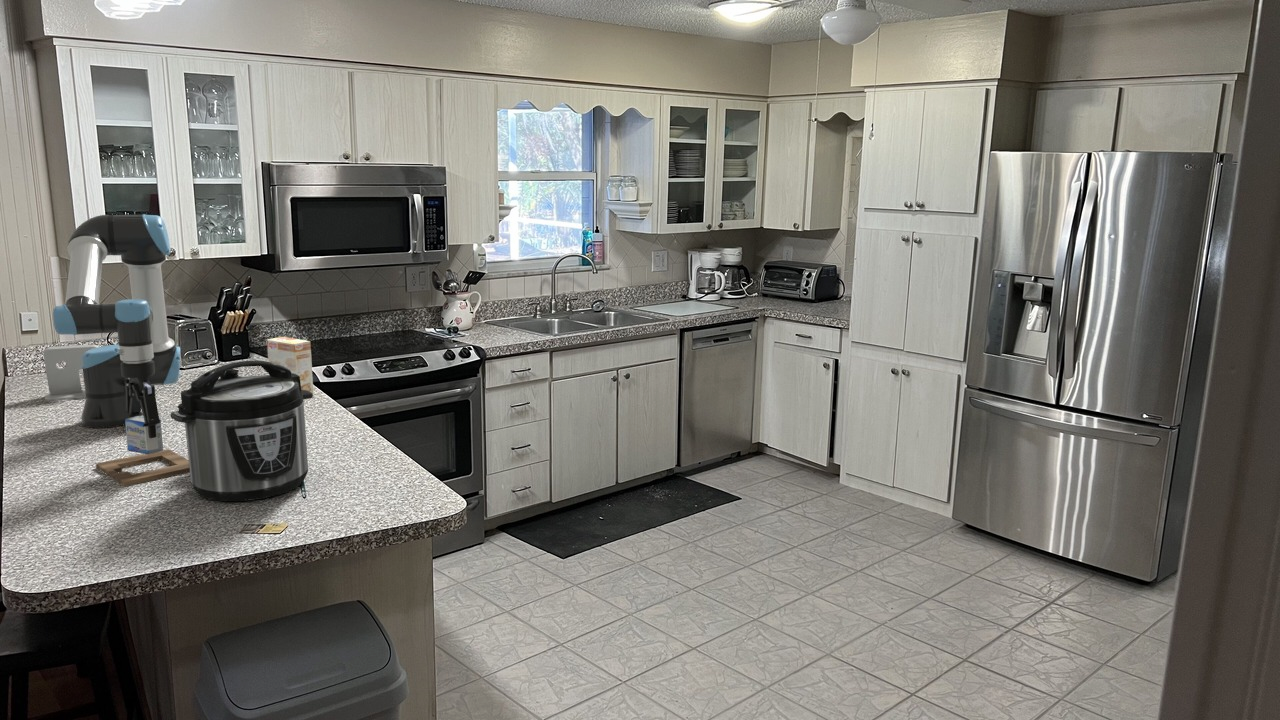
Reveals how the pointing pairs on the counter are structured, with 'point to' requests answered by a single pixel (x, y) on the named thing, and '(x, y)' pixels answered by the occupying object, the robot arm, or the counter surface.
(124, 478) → the walnut pocket plate
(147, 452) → the medicine box
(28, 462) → the counter surface
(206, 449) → the pressure cooker
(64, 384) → the phone holder
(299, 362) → the coffeecake box
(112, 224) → the robot arm
